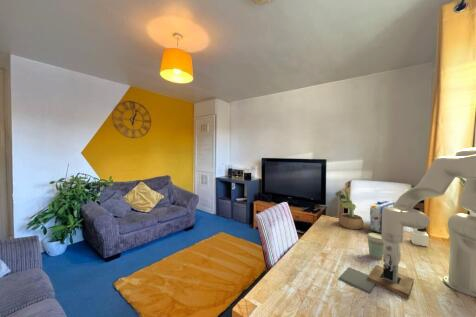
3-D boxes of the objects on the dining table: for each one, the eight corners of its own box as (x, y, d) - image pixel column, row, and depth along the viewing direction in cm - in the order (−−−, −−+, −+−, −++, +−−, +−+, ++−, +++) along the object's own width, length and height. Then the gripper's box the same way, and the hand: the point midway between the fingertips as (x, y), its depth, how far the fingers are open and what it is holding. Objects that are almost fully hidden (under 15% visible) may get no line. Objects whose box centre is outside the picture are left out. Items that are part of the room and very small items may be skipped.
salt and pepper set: (425, 242, 125) (425, 224, 124) (428, 247, 119) (429, 227, 118) (410, 239, 128) (411, 222, 128) (412, 244, 122) (413, 225, 122)
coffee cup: (388, 262, 102) (389, 239, 102) (370, 260, 104) (371, 238, 103) (380, 253, 111) (381, 233, 110) (363, 252, 112) (364, 231, 112)
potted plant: (344, 220, 164) (345, 185, 163) (367, 227, 150) (369, 188, 148) (329, 225, 152) (330, 187, 150) (353, 234, 137) (354, 192, 136)
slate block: (397, 282, 86) (398, 265, 86) (395, 287, 83) (396, 269, 83) (385, 277, 90) (385, 260, 89) (382, 282, 87) (383, 264, 86)
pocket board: (413, 283, 86) (413, 278, 86) (408, 299, 77) (408, 294, 77) (375, 268, 96) (375, 264, 96) (367, 281, 87) (367, 276, 87)
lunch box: (383, 237, 132) (384, 205, 131) (367, 231, 141) (368, 201, 140) (399, 228, 147) (400, 200, 146) (383, 224, 155) (384, 197, 155)
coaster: (377, 280, 88) (377, 278, 88) (369, 293, 80) (369, 291, 80) (348, 268, 96) (348, 266, 96) (339, 279, 89) (339, 277, 88)
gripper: (399, 245, 77) (397, 287, 78) (406, 233, 89) (404, 269, 89) (376, 239, 83) (375, 278, 83) (386, 228, 94) (384, 262, 95)
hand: (390, 273), depth 86 cm, fingers open, 9 cm apart
